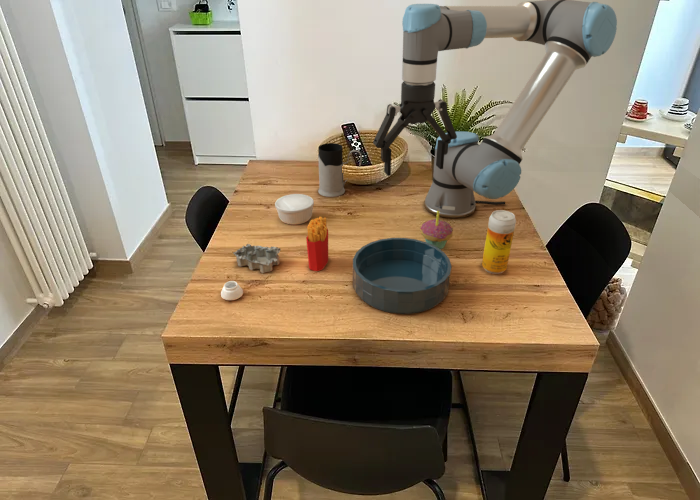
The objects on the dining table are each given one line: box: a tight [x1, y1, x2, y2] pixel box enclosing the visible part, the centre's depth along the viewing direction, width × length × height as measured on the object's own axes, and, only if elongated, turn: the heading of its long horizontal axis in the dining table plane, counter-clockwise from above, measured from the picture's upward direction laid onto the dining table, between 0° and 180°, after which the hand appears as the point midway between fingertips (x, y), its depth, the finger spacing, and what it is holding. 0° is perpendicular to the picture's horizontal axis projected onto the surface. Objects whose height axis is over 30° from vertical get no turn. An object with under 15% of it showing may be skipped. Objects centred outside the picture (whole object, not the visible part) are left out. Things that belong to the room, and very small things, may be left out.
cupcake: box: [419, 209, 454, 250], centre depth 131 cm, size 9×8×12 cm
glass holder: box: [317, 142, 363, 198], centre depth 159 cm, size 9×14×15 cm, turn 94°
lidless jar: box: [220, 280, 244, 301], centre depth 115 cm, size 5×3×5 cm
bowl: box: [352, 237, 453, 315], centre depth 117 cm, size 23×23×6 cm
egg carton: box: [232, 243, 282, 274], centre depth 126 cm, size 11×8×4 cm
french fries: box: [305, 216, 329, 272], centre depth 123 cm, size 8×4×12 cm, turn 161°
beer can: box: [481, 209, 517, 275], centre depth 120 cm, size 6×6×15 cm
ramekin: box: [274, 193, 315, 226], centre depth 146 cm, size 11×11×5 cm
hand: (413, 170), depth 122 cm, fingers open, 13 cm apart
